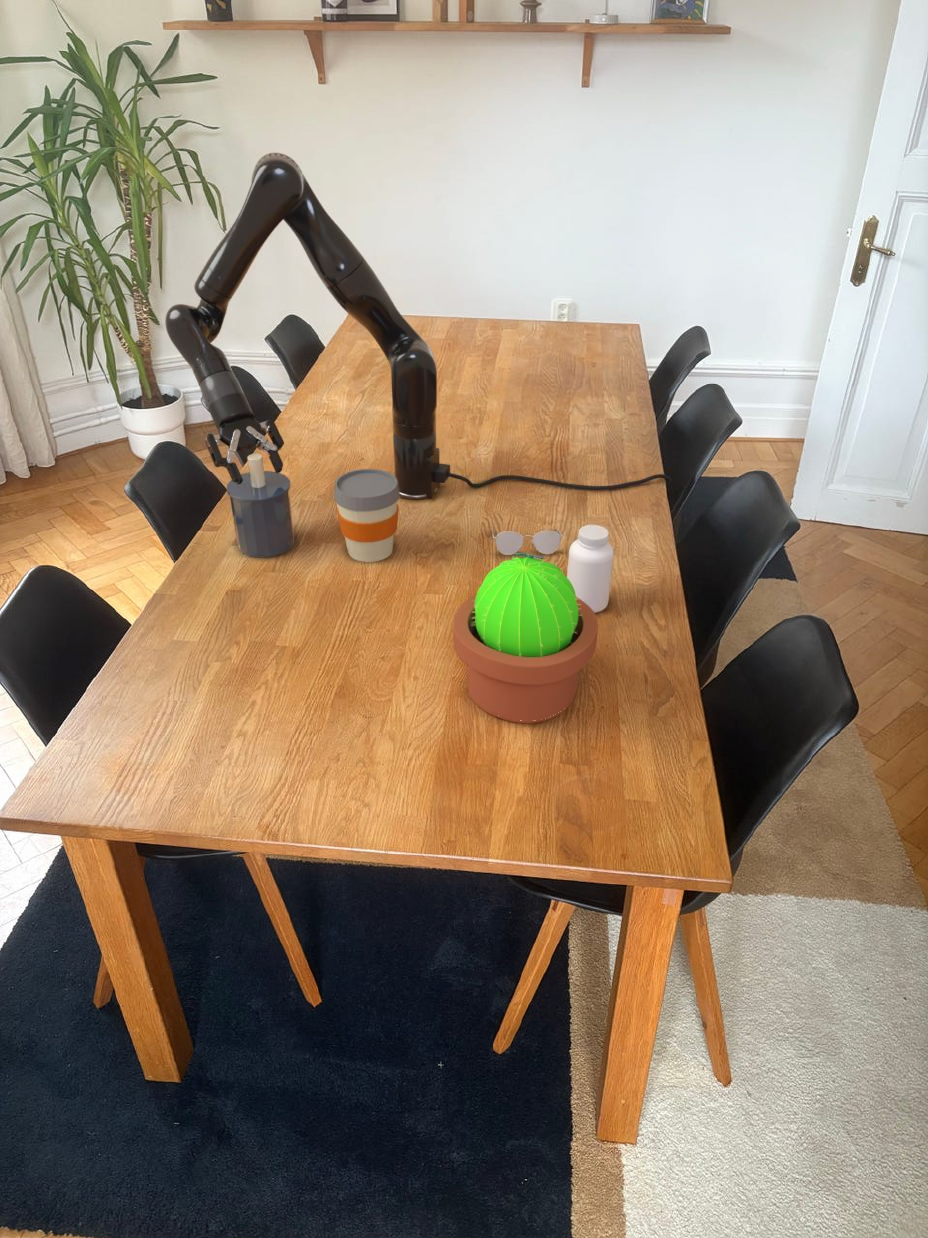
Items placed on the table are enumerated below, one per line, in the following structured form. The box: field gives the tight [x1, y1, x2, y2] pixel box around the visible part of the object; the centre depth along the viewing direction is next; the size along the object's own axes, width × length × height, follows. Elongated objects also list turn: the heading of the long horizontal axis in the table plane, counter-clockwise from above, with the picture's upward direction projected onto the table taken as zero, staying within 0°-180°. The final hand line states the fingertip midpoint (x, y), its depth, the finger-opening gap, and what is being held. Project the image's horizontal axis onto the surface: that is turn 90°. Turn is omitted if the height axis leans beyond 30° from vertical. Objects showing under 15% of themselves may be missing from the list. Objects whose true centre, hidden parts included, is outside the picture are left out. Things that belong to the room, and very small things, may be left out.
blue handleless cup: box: [229, 490, 295, 559], centre depth 188 cm, size 11×11×13 cm
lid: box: [226, 453, 291, 502], centre depth 183 cm, size 12×12×7 cm
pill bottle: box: [566, 524, 615, 614], centre depth 170 cm, size 8×8×15 cm
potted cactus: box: [452, 552, 599, 724], centre depth 147 cm, size 22×22×25 cm
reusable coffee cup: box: [333, 468, 400, 563], centre depth 185 cm, size 12×13×15 cm
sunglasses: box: [491, 527, 564, 556], centre depth 191 cm, size 14×8×5 cm, turn 93°
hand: (260, 476), depth 182 cm, fingers open, 8 cm apart
